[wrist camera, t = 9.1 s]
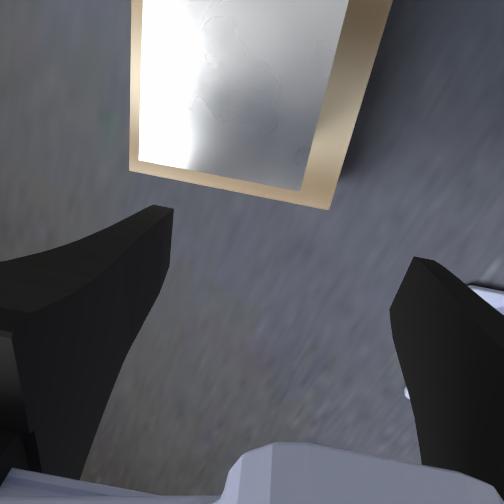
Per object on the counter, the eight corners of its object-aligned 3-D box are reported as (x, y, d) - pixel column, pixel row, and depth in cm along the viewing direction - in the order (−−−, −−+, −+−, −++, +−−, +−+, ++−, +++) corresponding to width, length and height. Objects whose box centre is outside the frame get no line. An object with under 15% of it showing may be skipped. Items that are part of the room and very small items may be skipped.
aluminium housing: (298, 143, 17) (299, 191, 13) (178, 119, 17) (139, 159, 12) (372, -165, 12) (413, -255, 8) (203, -201, 12) (150, -311, 8)
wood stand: (324, 184, 21) (328, 210, 18) (149, 149, 21) (129, 170, 18) (438, -211, 13) (472, -260, 11) (167, -269, 13) (136, -332, 11)
